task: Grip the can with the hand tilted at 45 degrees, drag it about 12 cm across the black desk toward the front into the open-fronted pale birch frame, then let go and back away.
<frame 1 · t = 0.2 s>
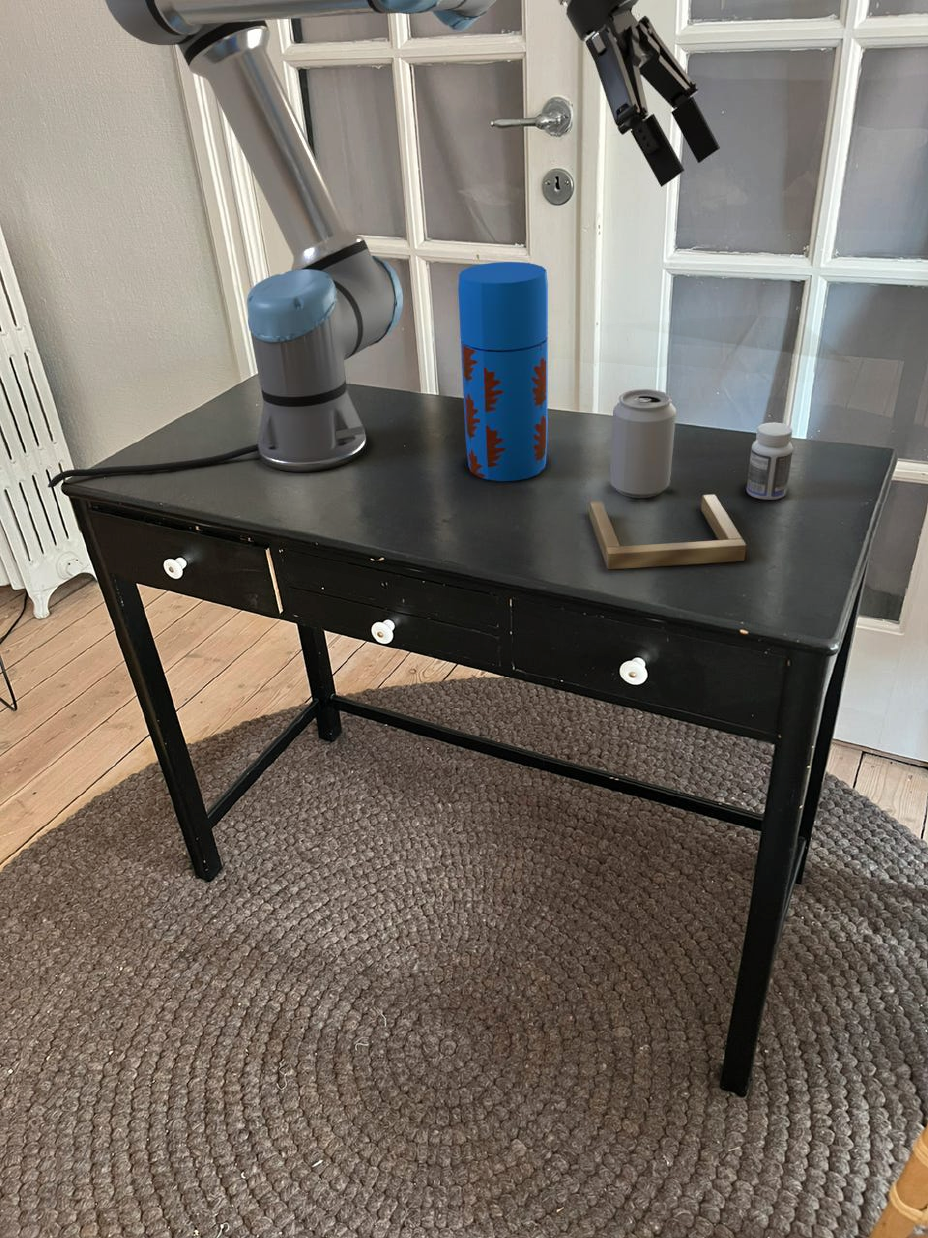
hand: (692, 167, 103), 36 cm above the table, tool tilted 35°, fingers open, 13 cm apart
thermos: (507, 465, 124), on the table
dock: (661, 534, 106), on the table
can: (639, 489, 116), on the table
pill bottle: (765, 493, 114), on the table
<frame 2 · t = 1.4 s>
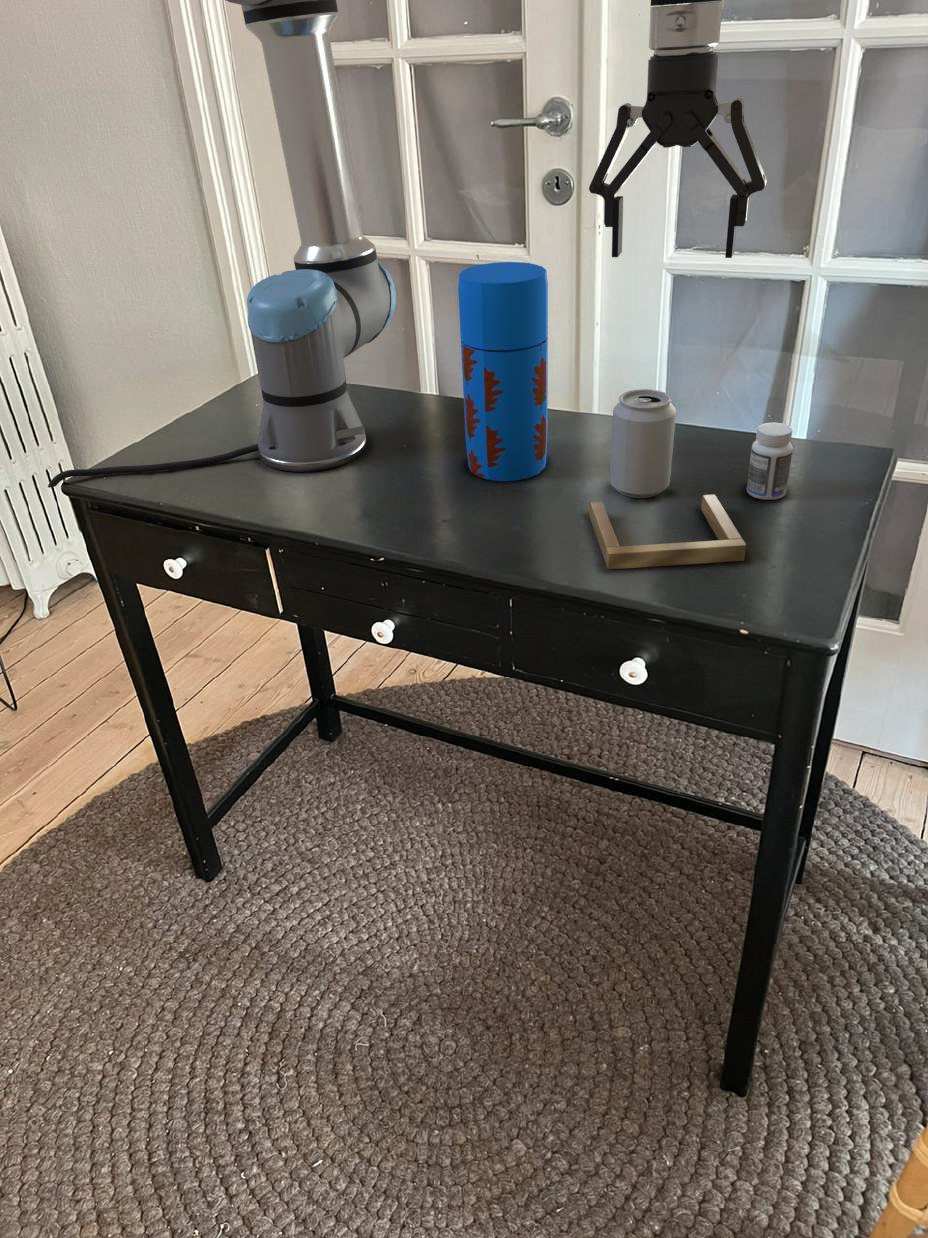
hand: (672, 255, 112), 25 cm above the table, tool pointing down, fingers open, 13 cm apart
nothing on the table moved.
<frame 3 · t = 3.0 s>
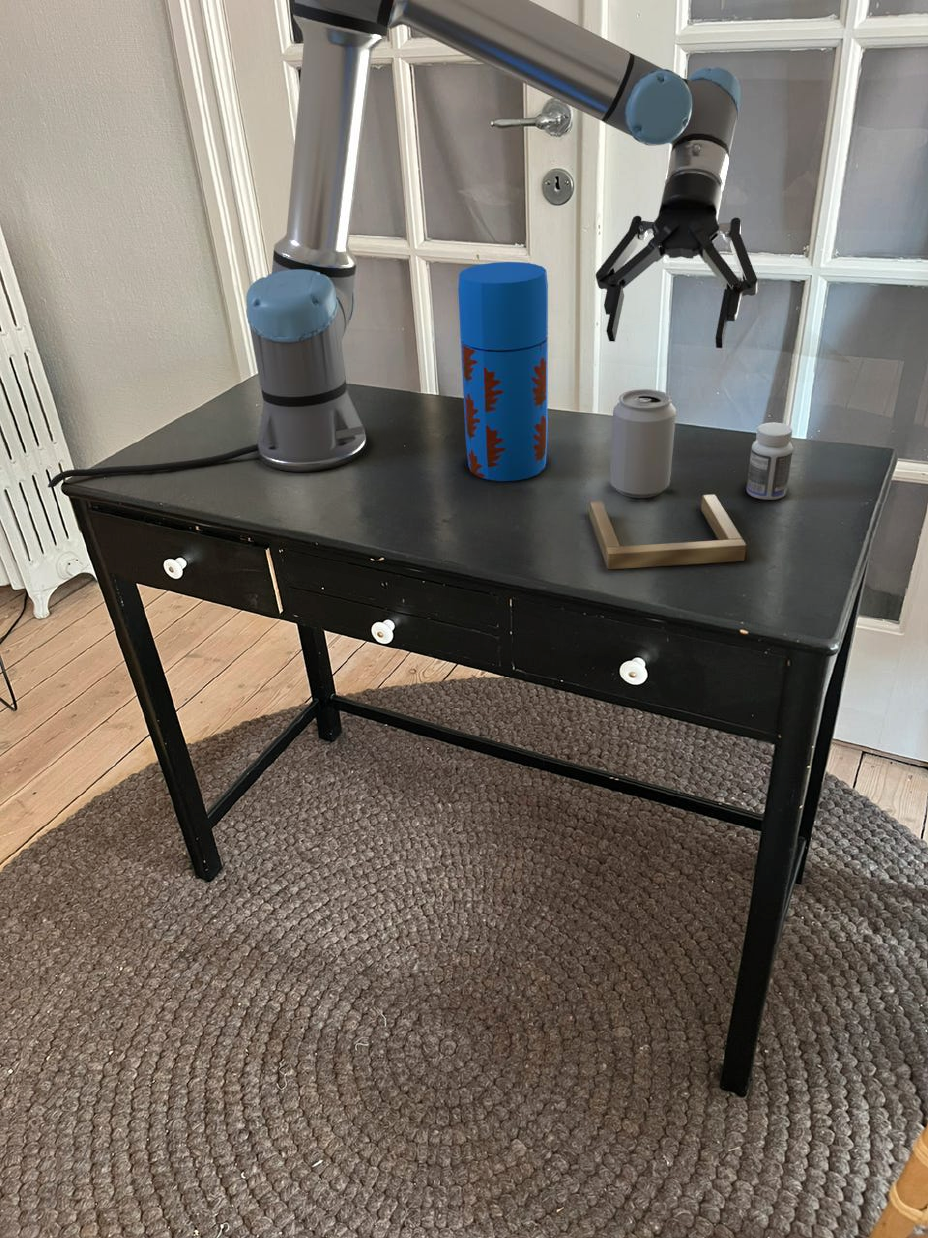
hand: (663, 339, 116), 16 cm above the table, tool tilted 45°, fingers open, 13 cm apart
nothing on the table moved.
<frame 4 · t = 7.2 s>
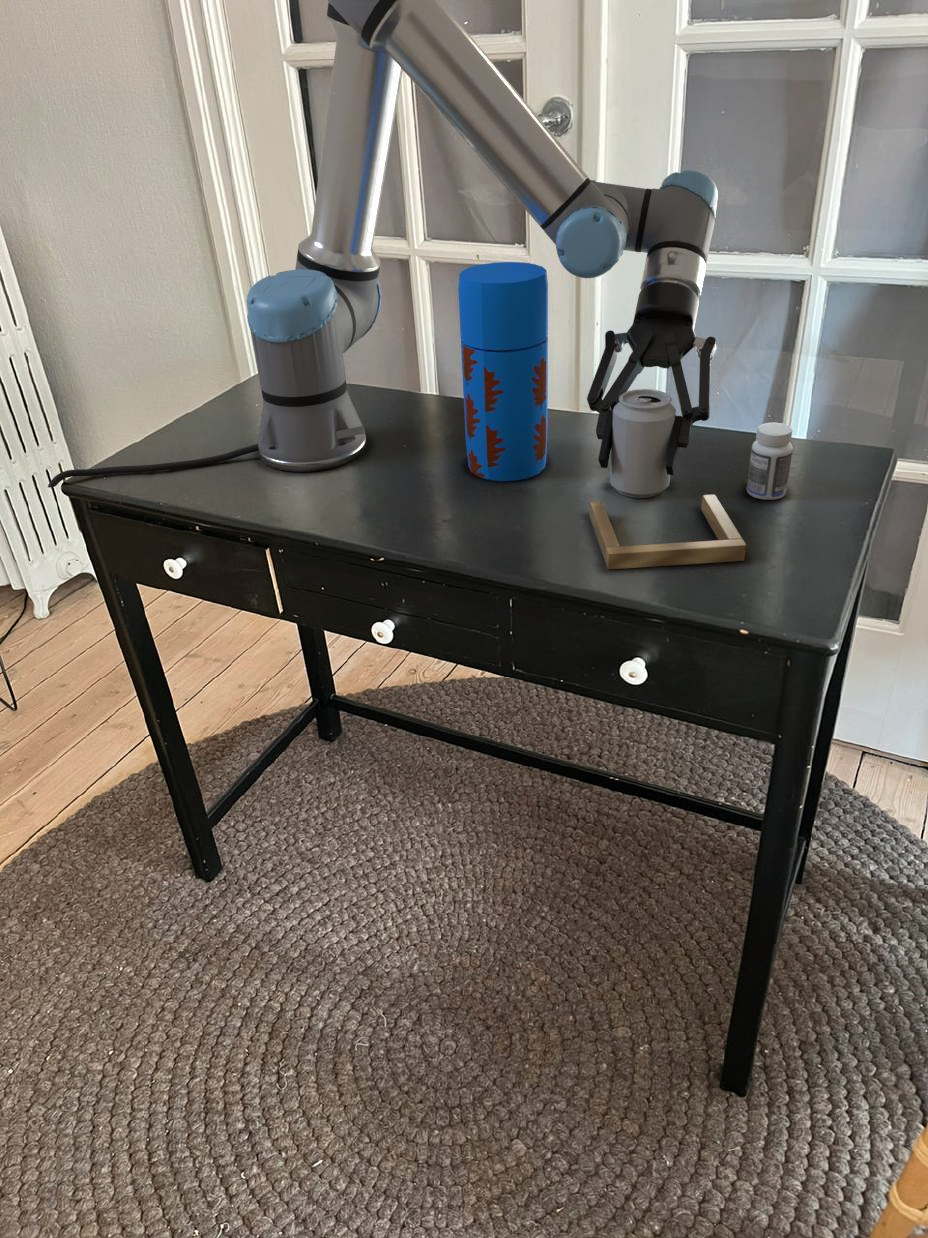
hand: (635, 467, 111), 4 cm above the table, tool tilted 45°, fingers closed on can, 7 cm apart
can: (639, 489, 116), on the table, touching gripper
everything else where it was.
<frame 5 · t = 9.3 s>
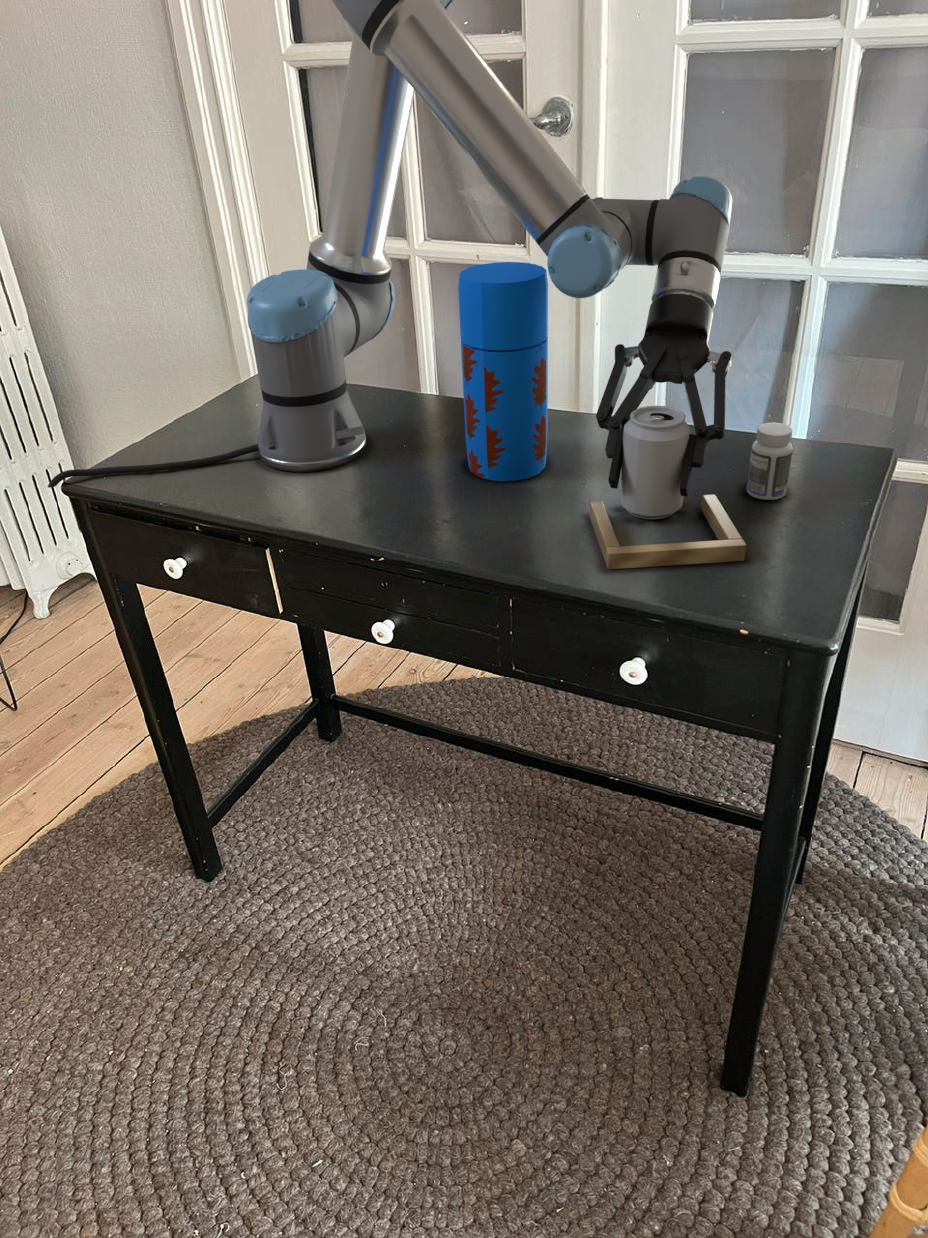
hand: (647, 488, 106), 5 cm above the table, tool tilted 45°, fingers closed on can, 7 cm apart
can: (650, 509, 111), on the table, touching gripper
everything else where it was.
when the fingers open (4 cm above the table, at t = 11.3 s): can stays where it is, on the table.
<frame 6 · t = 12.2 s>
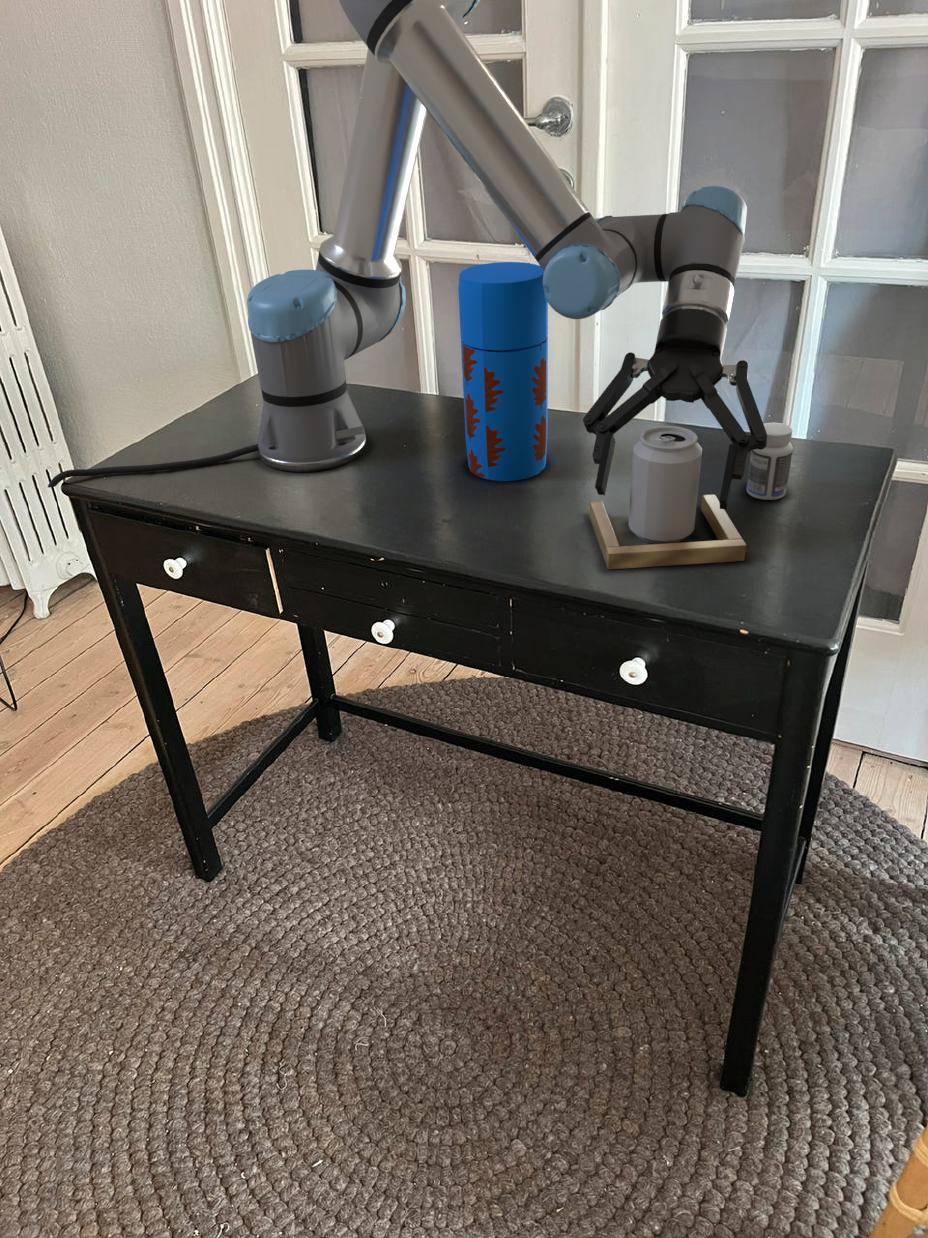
hand: (660, 498, 102), 6 cm above the table, tool tilted 45°, fingers open, 13 cm apart
can: (660, 533, 107), on the table
everything else where it was.
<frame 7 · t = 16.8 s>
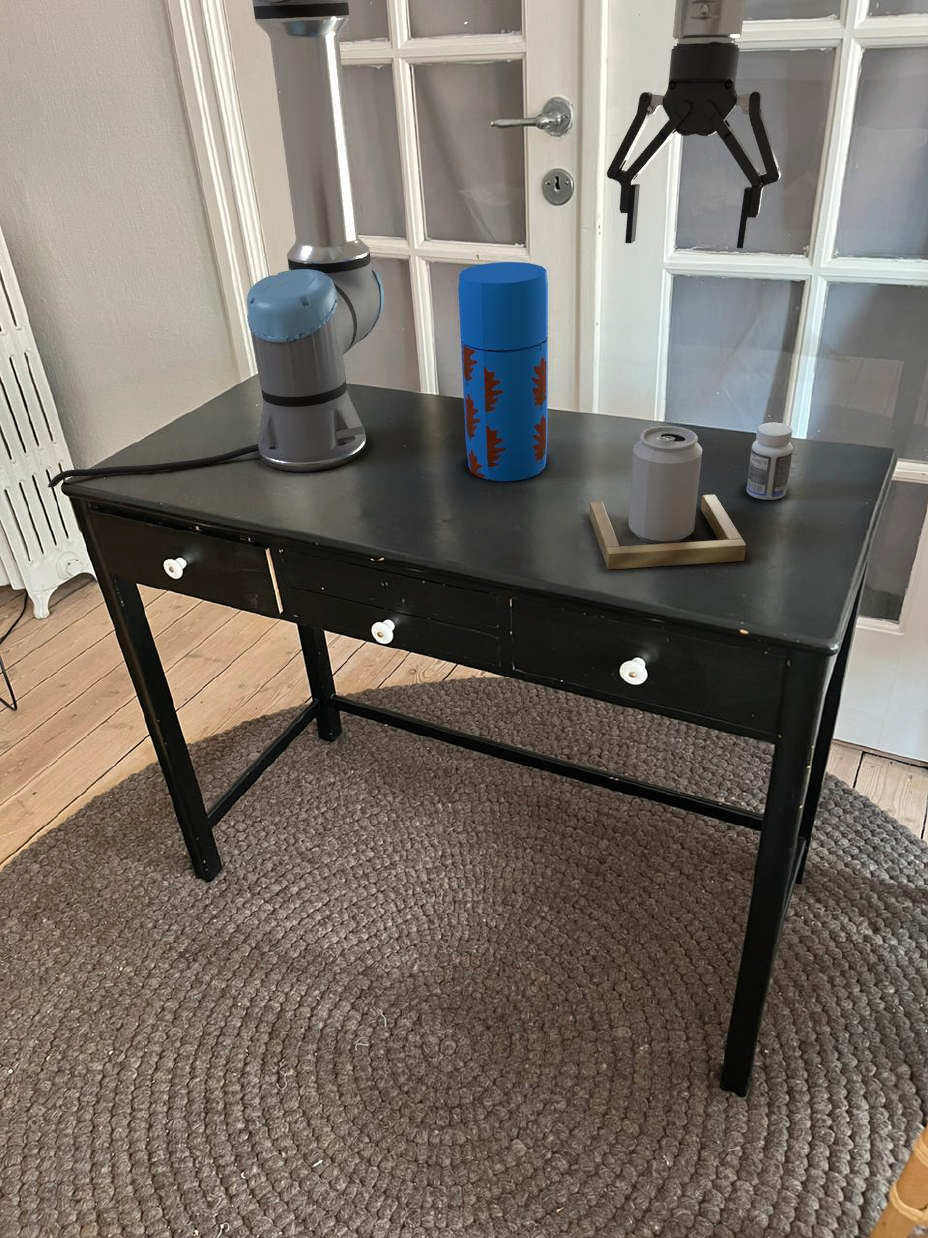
hand: (684, 244, 114), 26 cm above the table, tool pointing down, fingers open, 13 cm apart
nothing on the table moved.
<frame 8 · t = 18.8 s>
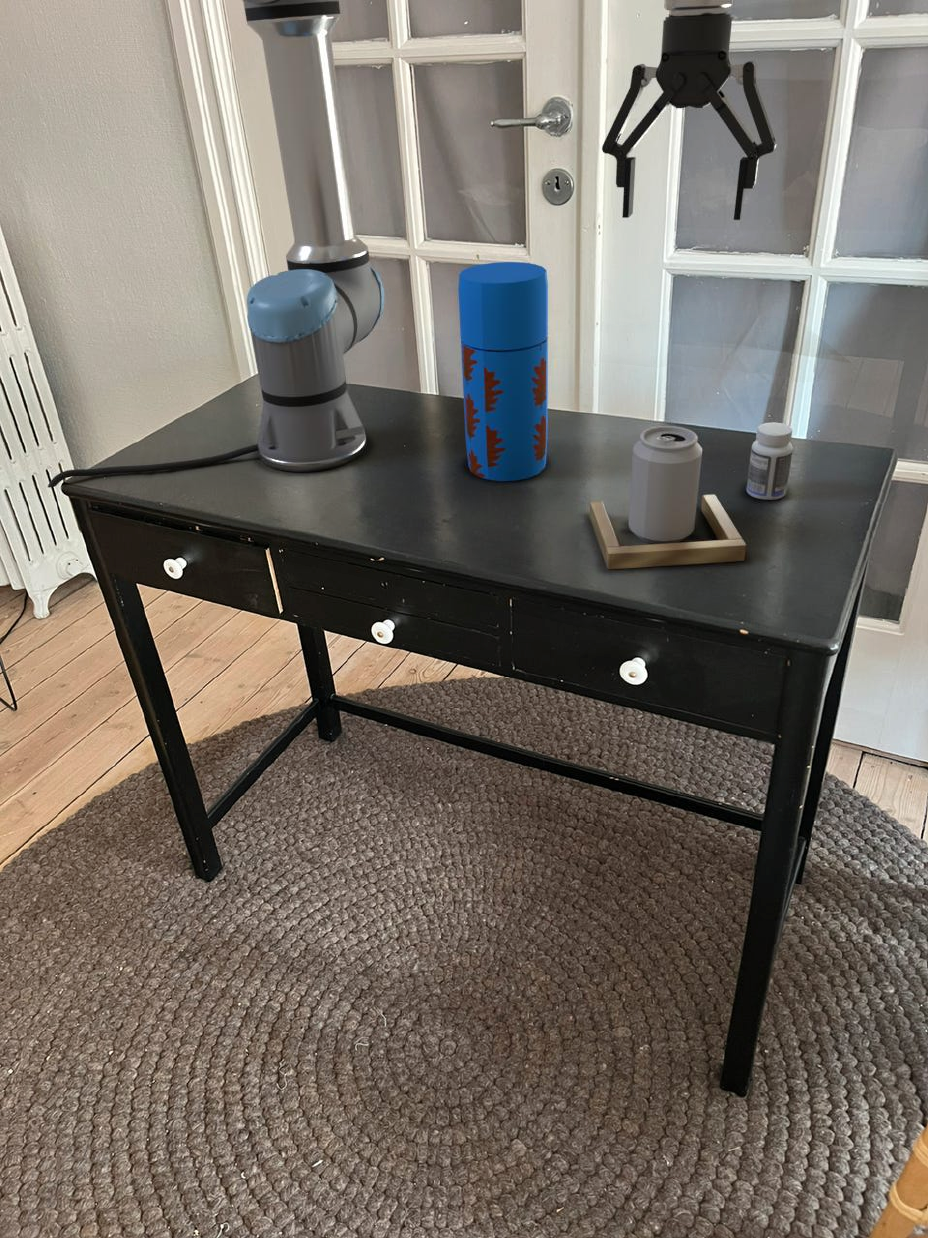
hand: (681, 216, 114), 29 cm above the table, tool pointing down, fingers open, 13 cm apart
nothing on the table moved.
at the end: can inside the target area on the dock (1.4 cm from its centre), point 0.0 cm above the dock's base; can tilted 0°; the gripper is holding nothing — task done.
